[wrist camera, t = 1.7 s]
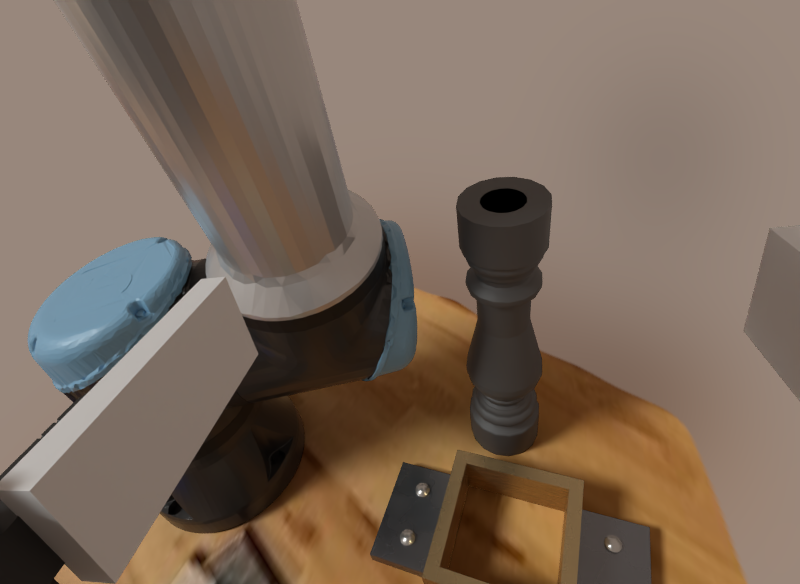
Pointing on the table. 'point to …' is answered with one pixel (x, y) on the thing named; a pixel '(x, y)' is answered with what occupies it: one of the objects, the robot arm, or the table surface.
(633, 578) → the square socket fixture
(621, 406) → the table surface
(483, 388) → the candle holder
